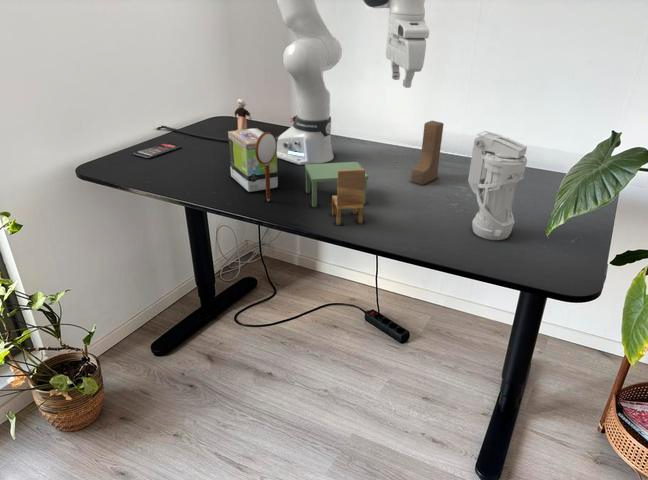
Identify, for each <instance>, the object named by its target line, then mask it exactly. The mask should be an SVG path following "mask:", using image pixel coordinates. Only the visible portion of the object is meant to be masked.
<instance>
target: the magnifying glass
mask: <svg viewBox="0 0 648 480" xmlns="http://www.w3.org/2000/svg"><path fill="white" fill-rule="evenodd" d="M275 137H276V136H275V135H274V134H273V133H272V132H270V131H266V132H265V131H264V133H263V134H262V135H261V136H260V137H259V138H258V140H257V143H256V147H255V154H256V158H257V160H258V161H259V162H260V163H262V164H265V180H266V189H265V199H266V200H267V202H270V201H271V188H270V174H269V164H268V163H269V162H271V161H272V159H273V158H274V156H275V153H276V149H277V142H276V138H275Z"/></svg>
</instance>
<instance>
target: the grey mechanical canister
mask: <svg viewBox="0 0 648 480" xmlns="http://www.w3.org/2000/svg"><path fill="white" fill-rule="evenodd" d="M483 133H484V134H483ZM476 136H477V137H476V138H474V141H473V147H472V154H471V159H470V164H469V172H468V179H467V182H468V185H469V186H470V189H471V191H472V192H473V193H474V194H475V195H476V201H477V204H478V208H479V209H478V211H477V212H476V213H475V216H474V218H473V219H472V225H471V226H472V227H471V228H472V232H473V233H474V234H475V235H476V236H477V237H479V238H483V239H485V240H489V241H490V240H491V241H501V240H502V241H503V240H505V239H507V238H509V237H510V235H511V233H512V231H513V228H514V225H515V218H514V213H513V212H512V209H513V206H514V205H513V204H514V201H515V200H514V199H515V195H516V190H517V185H518V182H521V181H522V180H523V179H524V177H525V172H526V169H527V168H526V167H527V163H528V158H527V156H526V155H527V154H526V153H527V148H528V146H527V145H524V144H522V143H521V142H518V141H516V140H513V139H511V138H510V137H506V136H503V135H501V134H498V133H495V132H490V131H487V130H483V131H482V132H479V133H477V134H476Z"/></svg>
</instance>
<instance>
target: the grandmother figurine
mask: <svg viewBox="0 0 648 480" xmlns="http://www.w3.org/2000/svg"><path fill="white" fill-rule="evenodd" d="M236 104H237V107H238V108H236V109H235V110H234V112H233V118H237V129H236V130H245V129H248V123H247V122H248V121H247V118H248V119H249V120H252V119H253V118H252V115H251V113H250V111H249V110H247V109H246V108H245V107H246V105H247V103H246V101H245V100H244V99H243V98H237V101H236Z"/></svg>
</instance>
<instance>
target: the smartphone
mask: <svg viewBox="0 0 648 480" xmlns="http://www.w3.org/2000/svg"><path fill="white" fill-rule="evenodd" d="M179 148H181V145H180V144H177V143H172V142H168V141H164V142H161V143H158V144H155V145H152V146H149V147H146V148H142V149H140V150H136V151H134V152H133V155H134V156H136V157H137V156H138V157H141V158H145V159H151V158H154V157H158V156H161V155H163V154H166V153H169V152H172V151H175V150H177V149H179Z"/></svg>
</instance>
